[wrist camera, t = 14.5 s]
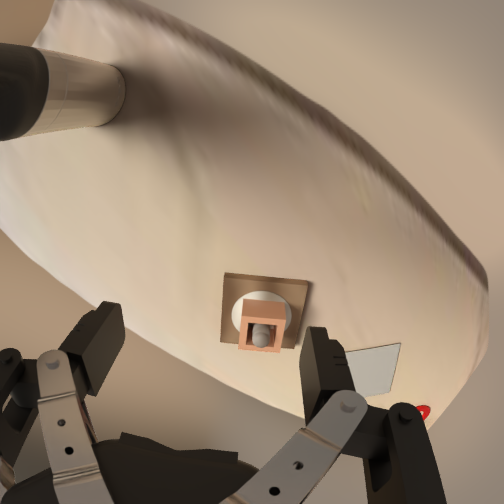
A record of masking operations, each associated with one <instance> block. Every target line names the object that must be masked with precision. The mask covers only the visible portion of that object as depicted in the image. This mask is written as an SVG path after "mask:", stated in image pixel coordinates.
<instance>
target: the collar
mask: <svg viewBox="0 0 504 504" xmlns="http://www.w3.org/2000/svg"><path fill="white" fill-rule="evenodd" d="M248 323H258V324H269V325H274V327H273V329H271V328H270V342H269V344H268V345H267V346H266V347H264V348H258V347H256V346H255V345H254V344H253V341H252V335H253V327H249V326H248ZM285 323H286V313H285V303H284V302H275V301H265V300H254V299H244V298H243V306H242V315H241V325H240V335H239V346H238V349H242V350H252V351H263V352H276V353H280V349H281V344H282V339H283V334H284V328H285Z"/></svg>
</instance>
